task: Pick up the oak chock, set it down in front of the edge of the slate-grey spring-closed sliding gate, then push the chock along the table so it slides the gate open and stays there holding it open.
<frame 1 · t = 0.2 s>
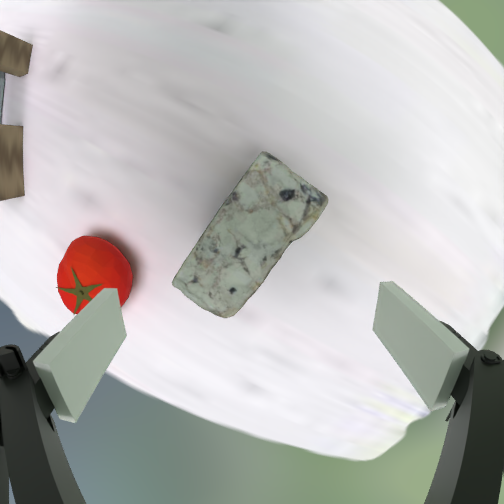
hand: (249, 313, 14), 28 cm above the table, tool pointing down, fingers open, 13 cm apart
stone block: (244, 210, 41), on the table
tomato: (110, 268, 42), on the table
wall frame: (19, 122, 35), on the table
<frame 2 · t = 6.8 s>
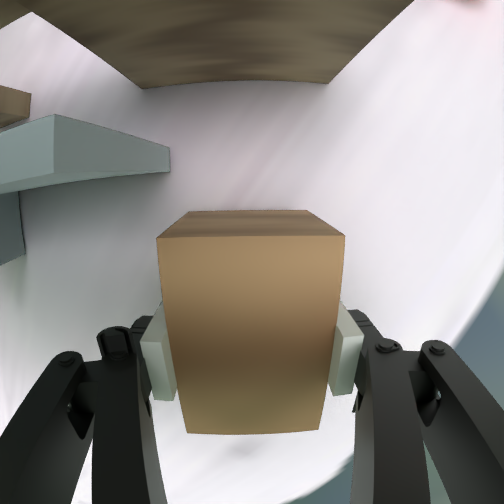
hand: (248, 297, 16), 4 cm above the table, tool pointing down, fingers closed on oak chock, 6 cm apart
oak chock: (248, 293, 16), point 3 cm above the table, touching gripper
wall frame: (128, 78, 16), on the table
gate: (17, 221, 12), point 6 cm above the table, slide at 0.0 cm
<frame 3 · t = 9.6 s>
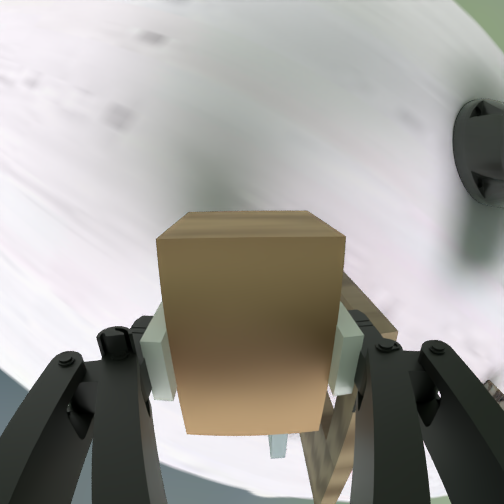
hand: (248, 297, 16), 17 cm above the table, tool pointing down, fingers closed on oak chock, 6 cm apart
oak chock: (248, 294, 16), point 16 cm above the table, touching gripper
wall frame: (314, 368, 37), on the table
gate: (251, 375, 30), point 6 cm above the table, slide at 0.0 cm
when the fingers open (0 cm above the table, at t = 12.6 s): oak chock stays where it is, on the table.
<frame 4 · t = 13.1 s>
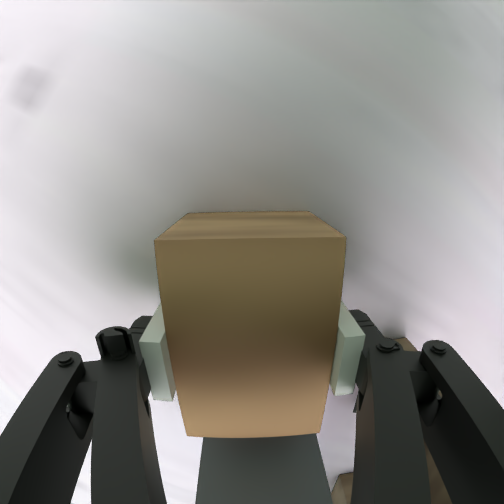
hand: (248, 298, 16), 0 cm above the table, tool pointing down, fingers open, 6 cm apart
oak chock: (249, 295, 16), on the table, touching gripper
wall frame: (351, 467, 21), on the table
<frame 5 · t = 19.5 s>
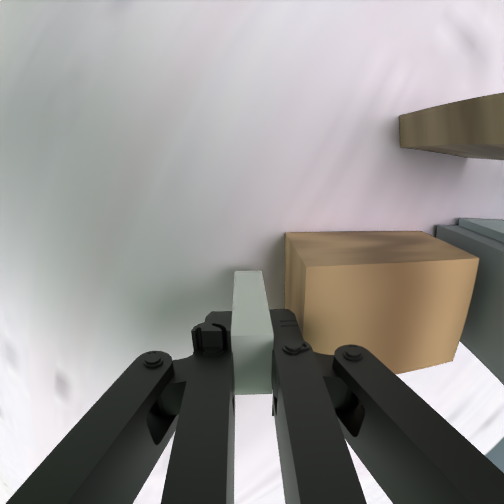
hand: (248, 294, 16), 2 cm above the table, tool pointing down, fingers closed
oak chock: (356, 278, 18), on the table, touching gripper
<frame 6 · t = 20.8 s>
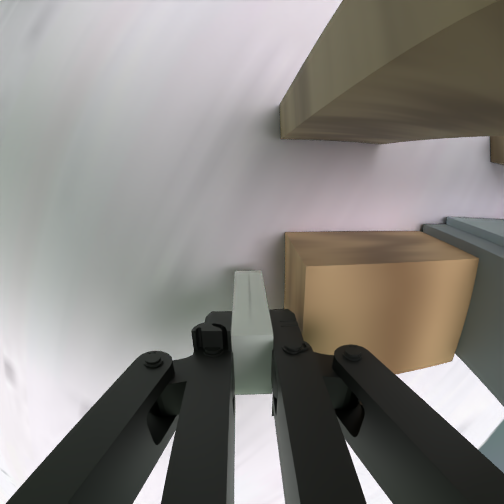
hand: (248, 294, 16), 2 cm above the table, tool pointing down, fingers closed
oak chock: (355, 278, 18), on the table, touching gripper
wall frame: (482, 146, 15), on the table
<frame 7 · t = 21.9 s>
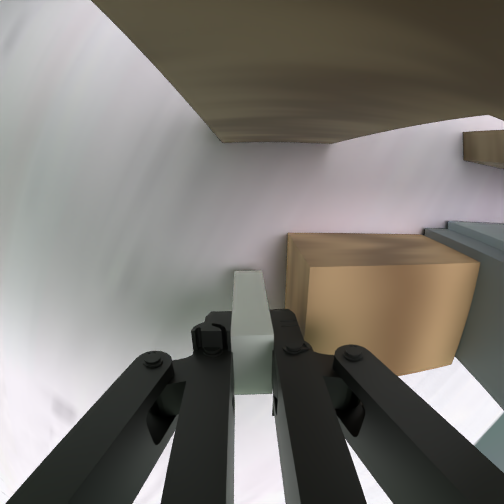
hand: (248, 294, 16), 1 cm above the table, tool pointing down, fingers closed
oak chock: (356, 280, 18), on the table, touching gripper
wall frame: (453, 143, 15), on the table
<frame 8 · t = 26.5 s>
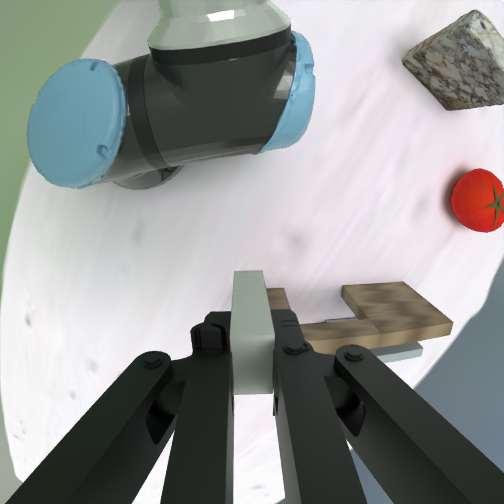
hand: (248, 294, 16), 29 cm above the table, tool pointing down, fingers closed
stone block: (430, 79, 39), on the table
tomato: (464, 196, 45), on the table
wall frame: (336, 291, 48), on the table
gate: (364, 351, 45), point 6 cm above the table, slide at 8.6 cm, touching oak chock
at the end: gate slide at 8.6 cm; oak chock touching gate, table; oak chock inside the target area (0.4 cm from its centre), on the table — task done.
